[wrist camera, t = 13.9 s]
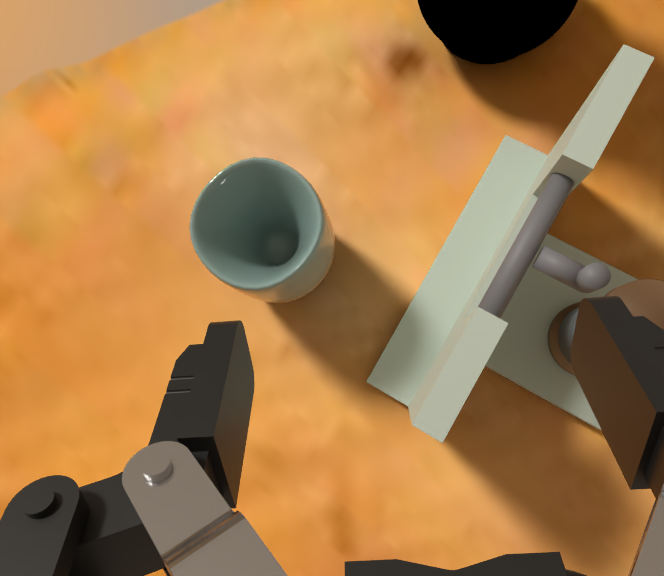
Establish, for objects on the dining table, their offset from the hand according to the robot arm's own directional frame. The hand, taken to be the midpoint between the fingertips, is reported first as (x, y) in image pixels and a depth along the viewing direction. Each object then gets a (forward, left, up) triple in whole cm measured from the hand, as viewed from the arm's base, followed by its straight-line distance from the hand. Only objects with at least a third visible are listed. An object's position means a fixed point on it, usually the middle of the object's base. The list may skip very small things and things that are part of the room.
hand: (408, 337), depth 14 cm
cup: (+2, +11, -27) cm, 30 cm away
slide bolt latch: (+7, -6, -27) cm, 29 cm away
